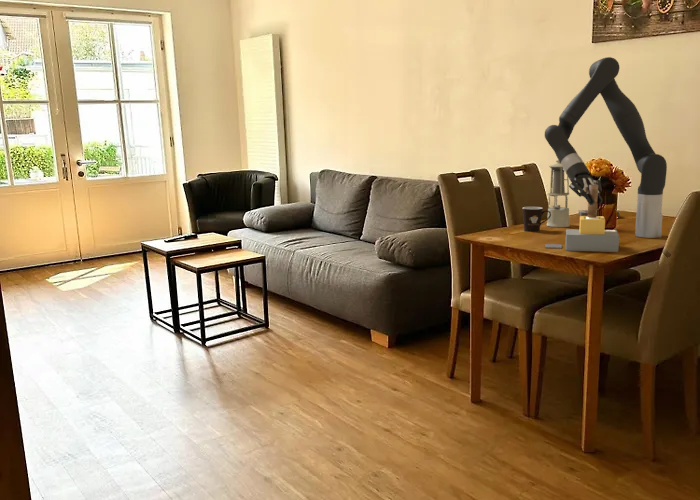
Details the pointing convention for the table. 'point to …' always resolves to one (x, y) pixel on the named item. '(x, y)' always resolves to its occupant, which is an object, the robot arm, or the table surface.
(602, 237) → the grey base plinth
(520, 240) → the table surface
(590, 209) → the brown wooden cylinder
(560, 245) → the rest pad
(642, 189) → the robot arm
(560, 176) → the lamp
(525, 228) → the coffee mug
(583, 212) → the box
